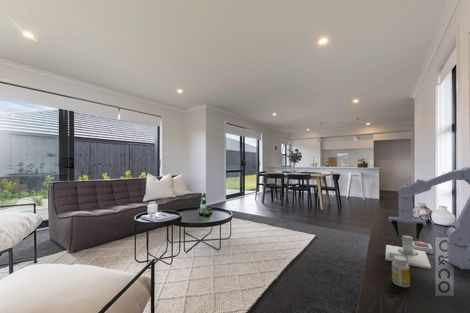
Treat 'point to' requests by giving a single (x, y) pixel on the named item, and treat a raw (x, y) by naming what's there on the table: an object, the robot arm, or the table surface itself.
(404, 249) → the marker
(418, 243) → the button
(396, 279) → the supplement bottle
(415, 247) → the button box
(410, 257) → the picture board
